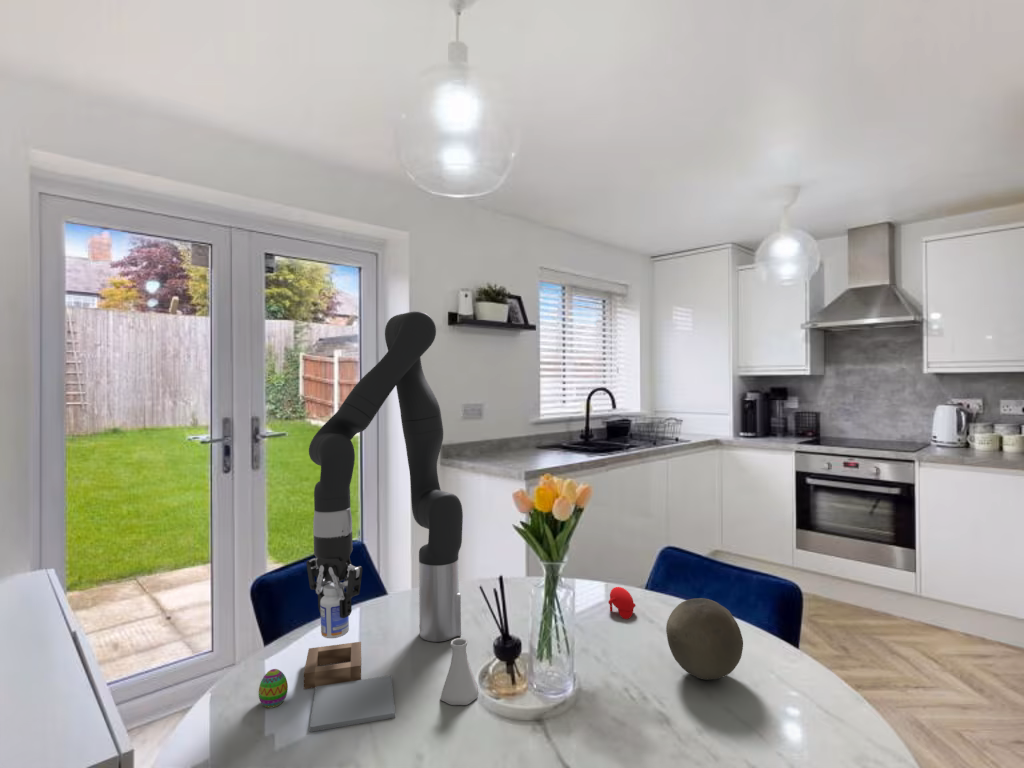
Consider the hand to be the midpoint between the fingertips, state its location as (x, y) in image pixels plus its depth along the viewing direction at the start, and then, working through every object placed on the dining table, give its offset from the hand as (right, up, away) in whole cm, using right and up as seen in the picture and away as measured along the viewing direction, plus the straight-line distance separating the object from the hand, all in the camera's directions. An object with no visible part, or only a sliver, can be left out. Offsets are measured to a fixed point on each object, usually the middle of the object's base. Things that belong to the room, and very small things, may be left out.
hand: (334, 613), depth 110 cm
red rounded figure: (+64, -12, +27) cm, 70 cm away
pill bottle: (0, -4, 0) cm, 4 cm away
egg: (-8, -12, -11) cm, 18 cm away
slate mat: (+7, -11, -12) cm, 18 cm away
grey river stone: (+74, -11, -5) cm, 75 cm away
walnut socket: (0, -12, 0) cm, 12 cm away
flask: (+26, -11, -10) cm, 30 cm away
